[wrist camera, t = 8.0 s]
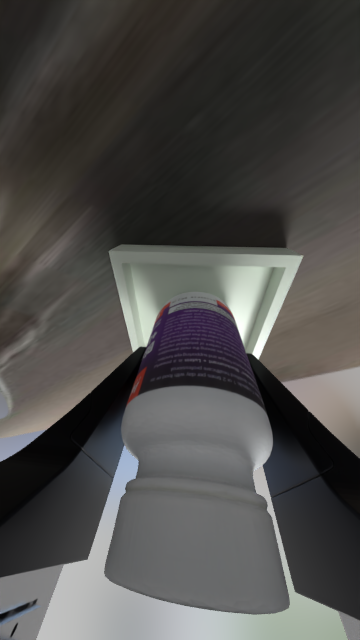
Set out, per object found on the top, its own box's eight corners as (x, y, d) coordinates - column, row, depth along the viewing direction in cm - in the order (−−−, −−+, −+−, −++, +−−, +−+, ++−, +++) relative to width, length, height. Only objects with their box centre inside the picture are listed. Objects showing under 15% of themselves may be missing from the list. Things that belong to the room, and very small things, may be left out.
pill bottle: (149, 293, 10) (-5, 582, 2) (235, 284, 9) (436, 675, 2) (165, 351, 13) (121, 562, 5) (231, 348, 13) (293, 590, 5)
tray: (142, 353, 16) (137, 368, 14) (121, 244, 10) (108, 251, 9) (245, 360, 15) (250, 377, 14) (286, 248, 9) (303, 255, 8)
